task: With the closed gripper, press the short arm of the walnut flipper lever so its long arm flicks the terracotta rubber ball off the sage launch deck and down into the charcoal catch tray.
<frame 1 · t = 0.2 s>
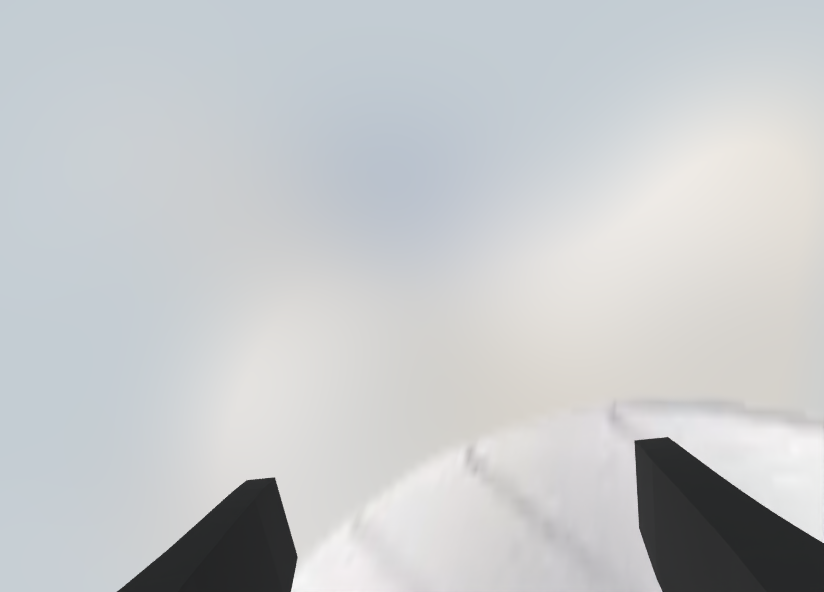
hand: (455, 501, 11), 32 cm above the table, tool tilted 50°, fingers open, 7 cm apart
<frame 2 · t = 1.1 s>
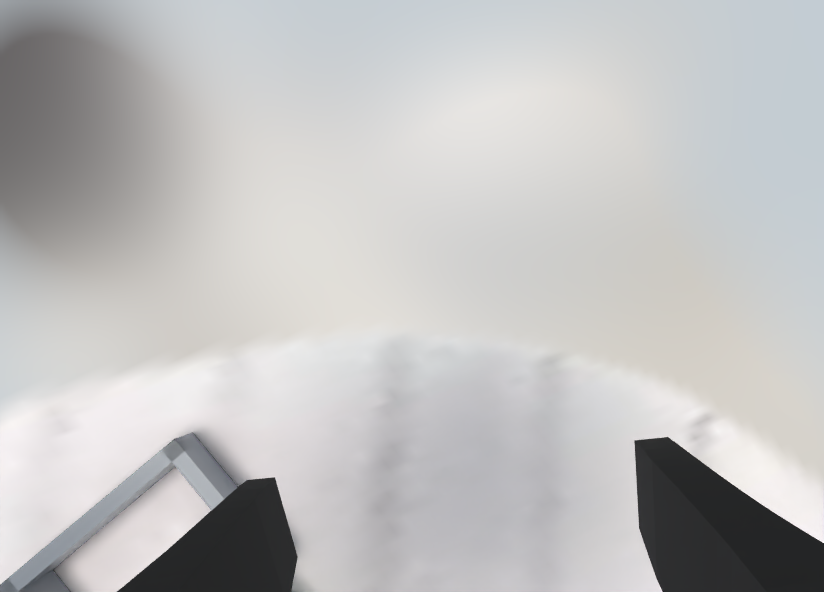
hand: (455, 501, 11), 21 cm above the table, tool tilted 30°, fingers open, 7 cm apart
catch tray: (163, 560, 30), on the table
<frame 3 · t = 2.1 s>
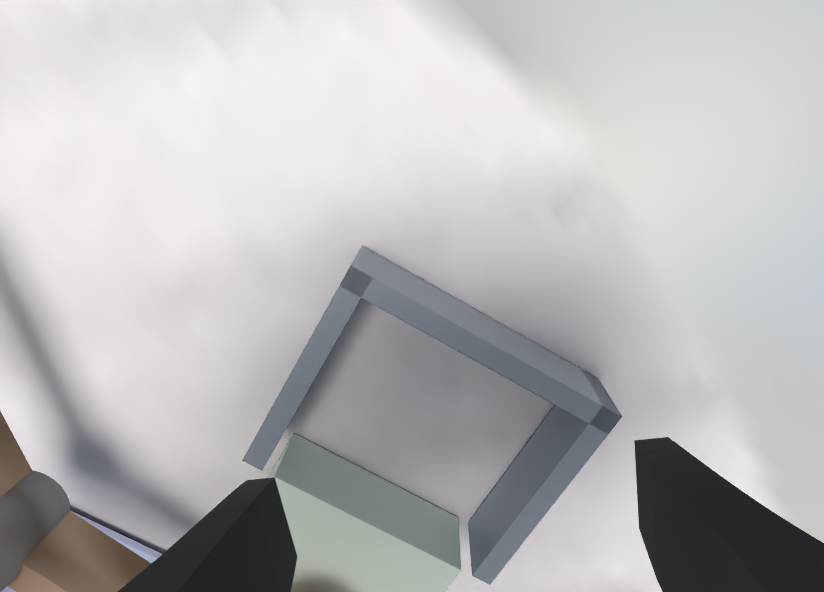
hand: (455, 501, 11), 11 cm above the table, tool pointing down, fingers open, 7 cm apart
catch tray: (427, 399, 23), on the table
flipper lever: (95, 510, 19), point 5 cm above the table, hinge at 0.0°
launch deck: (338, 536, 25), on the table
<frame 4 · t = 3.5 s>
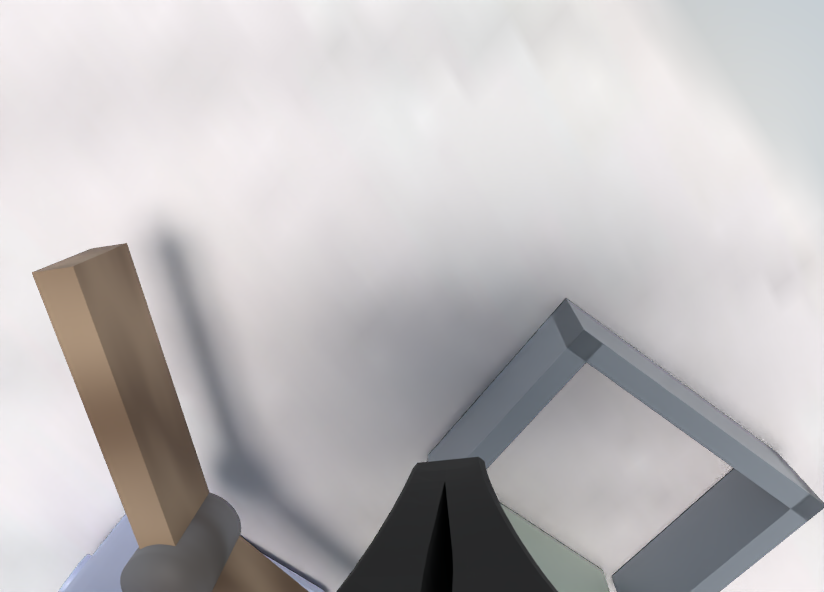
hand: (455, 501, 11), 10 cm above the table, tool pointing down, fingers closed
catch tray: (598, 454, 22), on the table
flipper lever: (284, 545, 19), point 5 cm above the table, hinge at 0.0°
launch deck: (476, 575, 25), on the table
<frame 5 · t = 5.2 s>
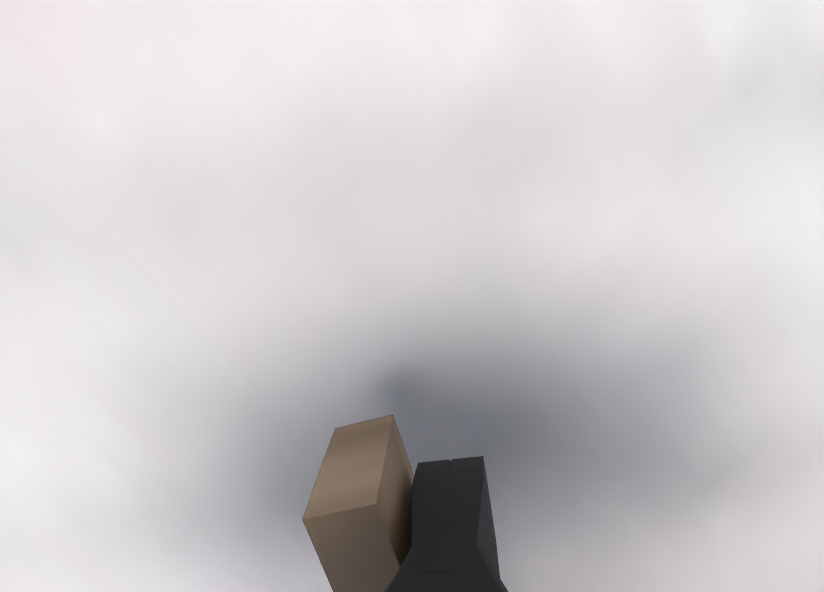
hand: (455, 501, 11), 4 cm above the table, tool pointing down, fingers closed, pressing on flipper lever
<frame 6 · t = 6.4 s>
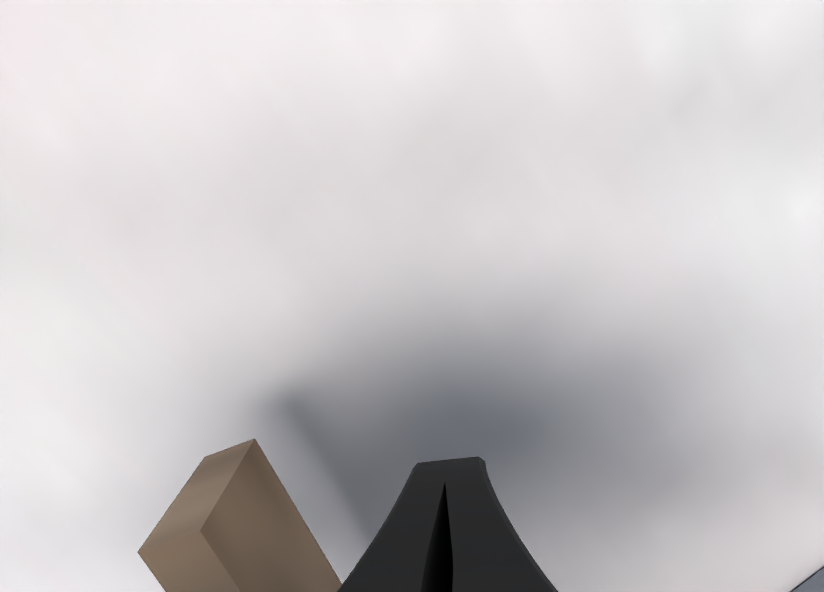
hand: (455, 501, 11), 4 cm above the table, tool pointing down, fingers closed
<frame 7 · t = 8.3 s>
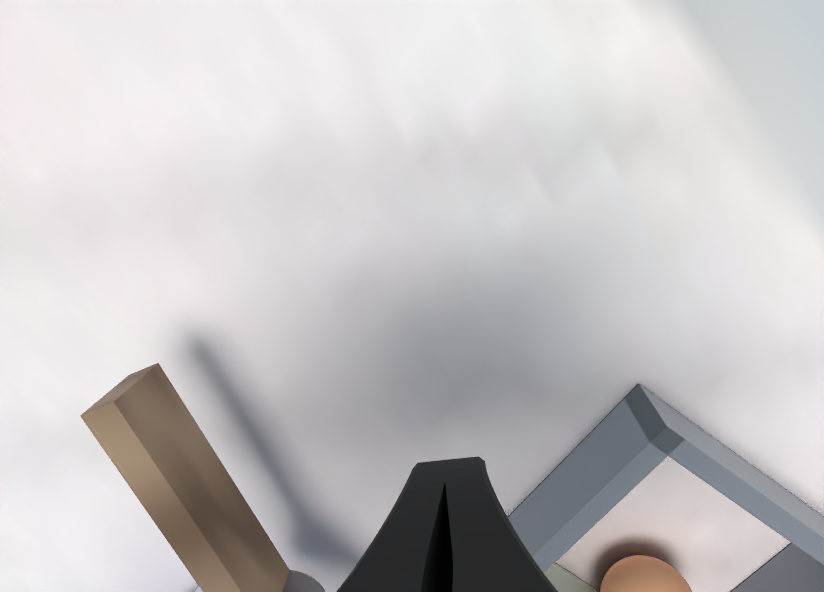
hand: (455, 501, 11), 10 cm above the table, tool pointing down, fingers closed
catch tray: (664, 526, 23), on the table
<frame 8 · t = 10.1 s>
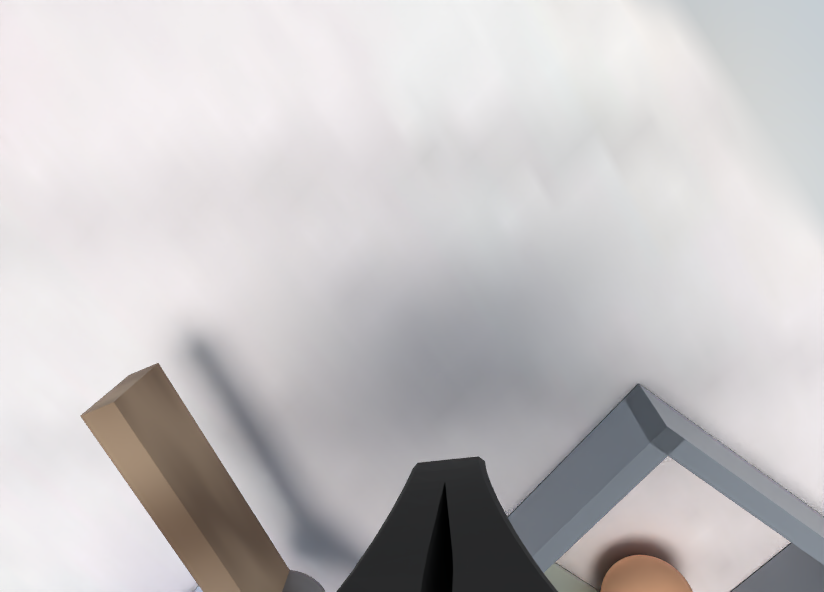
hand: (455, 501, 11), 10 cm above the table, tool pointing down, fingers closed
catch tray: (664, 526, 23), on the table
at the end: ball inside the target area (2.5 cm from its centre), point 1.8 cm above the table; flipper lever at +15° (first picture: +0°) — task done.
